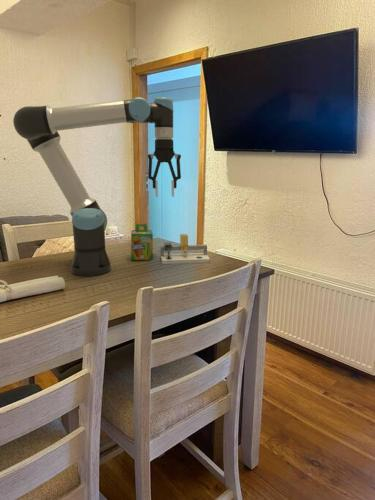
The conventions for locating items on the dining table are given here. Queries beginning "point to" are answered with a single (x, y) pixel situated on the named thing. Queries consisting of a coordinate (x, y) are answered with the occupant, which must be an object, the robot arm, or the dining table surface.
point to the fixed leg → (168, 248)
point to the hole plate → (189, 257)
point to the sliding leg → (184, 243)
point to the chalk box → (141, 243)
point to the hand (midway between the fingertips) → (164, 196)
